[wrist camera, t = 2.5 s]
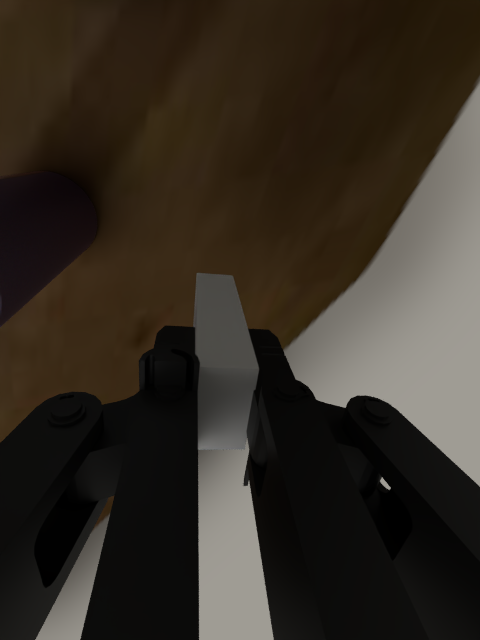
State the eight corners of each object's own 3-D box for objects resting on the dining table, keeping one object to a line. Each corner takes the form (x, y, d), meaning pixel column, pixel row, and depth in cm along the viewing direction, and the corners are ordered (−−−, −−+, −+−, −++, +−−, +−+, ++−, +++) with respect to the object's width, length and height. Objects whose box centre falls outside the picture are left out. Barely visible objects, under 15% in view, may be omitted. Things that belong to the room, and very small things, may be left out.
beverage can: (100, 179, 23) (-34, 222, 10) (100, 259, 26) (-5, 379, 12) (6, 162, 22) (-286, 184, 9) (17, 247, 24) (-195, 364, 11)
